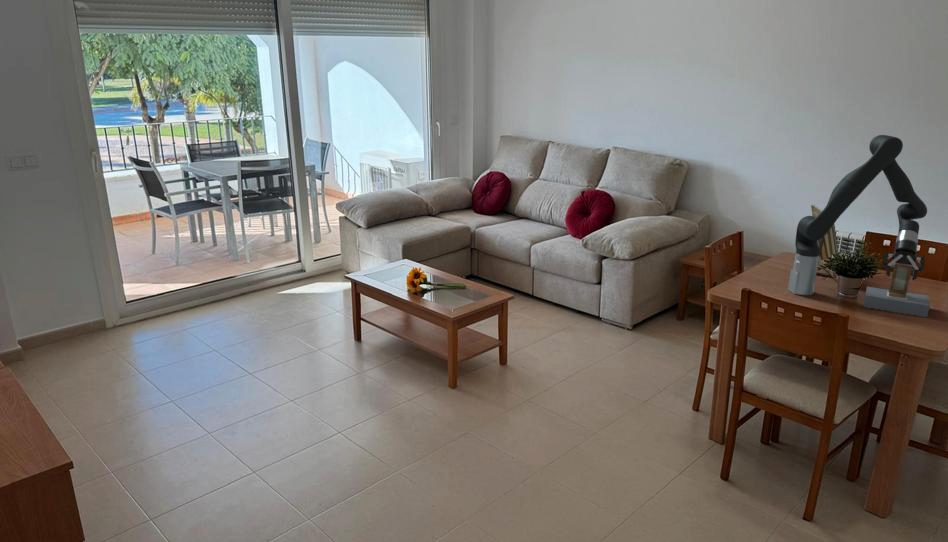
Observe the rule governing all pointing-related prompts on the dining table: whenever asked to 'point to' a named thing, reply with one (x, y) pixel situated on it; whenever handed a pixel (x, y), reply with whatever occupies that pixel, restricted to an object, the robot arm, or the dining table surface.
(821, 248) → the picture frame
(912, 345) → the dining table surface
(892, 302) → the display step
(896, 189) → the robot arm
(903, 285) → the walnut frame
